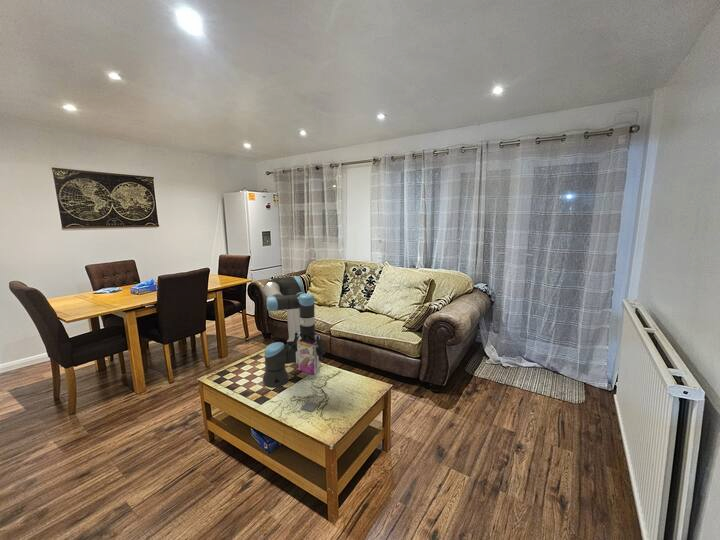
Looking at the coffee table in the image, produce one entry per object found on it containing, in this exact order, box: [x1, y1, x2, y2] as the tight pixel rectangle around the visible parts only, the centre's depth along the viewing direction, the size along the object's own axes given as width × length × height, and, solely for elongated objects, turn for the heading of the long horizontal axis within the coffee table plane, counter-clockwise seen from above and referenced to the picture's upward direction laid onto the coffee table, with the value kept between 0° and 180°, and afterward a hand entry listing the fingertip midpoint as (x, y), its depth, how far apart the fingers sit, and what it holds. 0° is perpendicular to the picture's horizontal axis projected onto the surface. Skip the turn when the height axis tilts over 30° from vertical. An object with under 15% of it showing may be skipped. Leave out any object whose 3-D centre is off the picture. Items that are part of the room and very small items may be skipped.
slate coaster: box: [300, 400, 319, 413], centre depth 161 cm, size 7×7×1 cm
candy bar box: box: [297, 339, 320, 376], centre depth 157 cm, size 11×5×16 cm, turn 59°
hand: (308, 364), depth 158 cm, fingers closed on candy bar box, 12 cm apart
